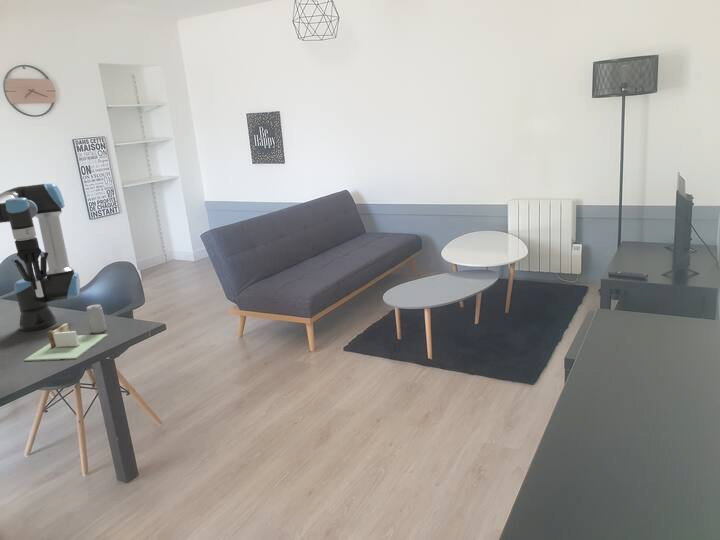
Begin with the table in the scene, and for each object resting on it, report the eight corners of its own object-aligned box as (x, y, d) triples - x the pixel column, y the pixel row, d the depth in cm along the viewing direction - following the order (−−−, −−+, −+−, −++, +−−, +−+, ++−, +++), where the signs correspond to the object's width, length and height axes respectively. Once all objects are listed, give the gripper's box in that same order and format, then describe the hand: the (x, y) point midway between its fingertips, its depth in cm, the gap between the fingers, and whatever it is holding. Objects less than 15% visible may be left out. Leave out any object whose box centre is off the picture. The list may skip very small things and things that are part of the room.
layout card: (60, 337, 244) (60, 336, 244) (108, 335, 242) (107, 333, 241) (24, 361, 221) (23, 359, 221) (76, 359, 219) (76, 357, 218)
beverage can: (90, 335, 243) (85, 309, 240) (91, 330, 249) (86, 305, 246) (106, 332, 245) (101, 306, 242) (107, 327, 251) (101, 302, 248)
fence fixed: (67, 338, 243) (63, 320, 240) (72, 337, 242) (68, 320, 240) (50, 349, 231) (45, 331, 229) (55, 349, 230) (50, 331, 228)
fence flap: (55, 347, 230) (52, 334, 228) (58, 345, 232) (55, 332, 231) (77, 346, 230) (73, 332, 228) (79, 343, 232) (76, 330, 231)
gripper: (12, 243, 207) (27, 302, 213) (47, 235, 217) (61, 292, 223) (3, 241, 211) (18, 300, 217) (38, 234, 221) (51, 290, 227)
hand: (40, 296), depth 220 cm, fingers closed
